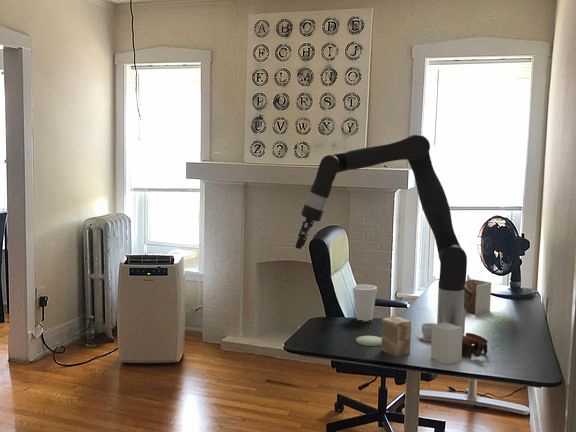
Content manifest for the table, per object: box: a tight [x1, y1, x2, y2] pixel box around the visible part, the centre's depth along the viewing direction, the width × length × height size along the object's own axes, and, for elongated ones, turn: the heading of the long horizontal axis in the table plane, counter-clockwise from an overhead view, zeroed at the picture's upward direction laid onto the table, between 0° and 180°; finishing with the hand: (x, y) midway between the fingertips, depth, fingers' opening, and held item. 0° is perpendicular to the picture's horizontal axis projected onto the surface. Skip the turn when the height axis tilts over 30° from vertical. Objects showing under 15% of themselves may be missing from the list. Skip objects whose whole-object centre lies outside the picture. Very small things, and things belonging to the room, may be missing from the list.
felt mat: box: [355, 335, 382, 347], centre depth 220 cm, size 10×10×1 cm
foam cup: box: [352, 284, 378, 322], centre depth 248 cm, size 10×9×13 cm
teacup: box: [417, 322, 436, 342], centre depth 225 cm, size 10×10×5 cm
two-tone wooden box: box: [464, 274, 492, 316], centre depth 263 cm, size 9×11×17 cm
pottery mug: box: [461, 332, 489, 360], centre depth 206 cm, size 12×10×8 cm
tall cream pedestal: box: [430, 322, 463, 365], centre depth 201 cm, size 6×7×11 cm
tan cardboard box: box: [381, 315, 412, 357], centre depth 208 cm, size 6×7×11 cm
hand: (299, 246), depth 233 cm, fingers open, 8 cm apart
